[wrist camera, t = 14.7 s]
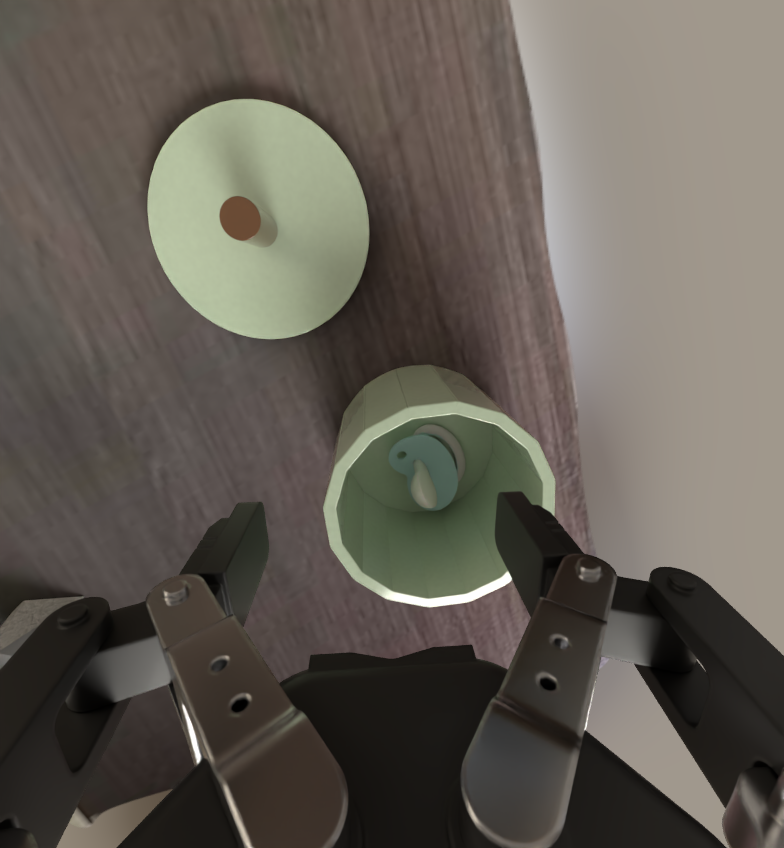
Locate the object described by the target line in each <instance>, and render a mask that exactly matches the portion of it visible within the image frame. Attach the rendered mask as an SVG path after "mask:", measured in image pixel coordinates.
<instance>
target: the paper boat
mask: <svg viewBox="0 0 784 848" xmlns="http://www.w3.org/2000/svg"><path fill="white" fill-rule="evenodd" d="M83 597H84V596H80V597H66V598H52V599H38V600H24V601H23V602H22V603H21V604H20V605H19V606H18V607H17V608H16V609H15V610H14V611H13V612H12V613H11V614H10V615H9V617H8V618H7V619H6V620H5V622H4V623H3V624H2V625H1V627H0V669H1V668H2V667H3V666H4V665H5V664H6V662H7V661H8V660H9V659H10V658H11V657H12V656H13V654H14V653H15V652H16V651H17V650H18V649H19V648H20V647H21V645H22V644H23V643H24V642H25V641H26V640H27V639H28V637H29V636H30V635H31V634H32V633H33V632H34V631H35V630H36V628H37V627H38V626H39V625H40V624H41V623H42V622H43V621H44V620H45V619H46V618H47V617H48V616H49V615H50V614H51V613H53V612H54V611H56V610H57V609H59V608H61V607H62V606H64V605H66V604H69V603H71V602H73V601H76V600H79V599H83Z"/></svg>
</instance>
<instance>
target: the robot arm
mask: <svg viewBox="0 0 784 848" xmlns="http://www.w3.org/2000/svg"><path fill="white" fill-rule="evenodd" d="M495 542H496V546H497V549H498V552H499V554H500V556H501V558H502V560H503V562H504V564H505V566H506V568H507V570H508V572H509V574H510V576H511V578H512V580H513V582H514V584H515V586H516V588H517V590H518V592H519V594H520V596H521V598H522V600H523V602H524V604H525V606H526V608H527V610H528V612H529V614H530V616H531V619H530V621H529V623H528V626H527V628H526V630H525V633H524V635H523V637H522V639H521V642H520V644H519V646H518V648H517V651H516V653H515V655H514V657H513V660H512V662H511V664H510V666H509V669H508V670H507V669H505V668H503V667H501V666H499V665H497V664H494V663H492V662H488V661H485V660H481V659H476V657H475V653H474V650H473V646H472V645H462V646H446V647H432V648H429V649H426V650H422V651H419V652H416V653H413V654H409V655H406V656H403V657H399V658H396V659H387V658H381V657H375V656H369V655H363V654H357V653H335V654H319V655H311V656H310V662H309V669H308V670H305V671H302V672H299V673H297V674H295V675H292V676H291V677H289V678H287V679H285V680H283V681H282V682H280V683H279V682H278V681H277V679H276V678H275V676H274V675H273V673H272V672H271V670H270V668H269V667H268V665H267V664H266V662H265V661H264V659H263V658H262V656H261V655H260V653H259V651H258V650H257V648H256V647H255V645H254V644H253V642H252V641H251V639H250V638H249V636H248V634H247V633H246V631H245V630H244V628H243V627H244V624H245V621H246V618H247V615H248V613H249V610H250V607H251V604H252V602H253V599H254V596H255V593H256V590H257V588H258V585H259V582H260V579H261V576H262V574H263V571H264V568H265V565H266V562H267V559H268V553H269V541H268V534H267V526H266V519H265V512H264V506H263V503H262V502H247V503H238V504H237V505H236V507H235V509H234V510H233V512H232V514H231V516H230V517H229V518H221V519H220V520H219V521H217V522H216V523H215V524H213V525H212V526H211V527H210V528H209V529H208V530H207V532H206V534H205V535H204V537H203V540H201V541H200V543H199V544H198V546H197V549H195V551H194V552H193V554H192V555H191V557H190V558H189V560H188V561H187V563H186V565H185V566H184V568H183V569H182V571H181V572H180V574H179V575H177V576H174V577H171V578H169V579H167V580H164V581H163V582H161V583H159V584H158V585H157V586H155V587H154V588H153V589H152V590H151V591H150V592H149V594H148V595H147V597H146V601H145V602H142V603H139V604H135V605H131V606H128V607H124V608H120V609H116V610H113V611H111V610H110V607H109V604H108V602H107V600H105V599H104V598H100V597H89V598H83V599H79V600H76V601H73V602H71V603H69V604H66V605H64V606H62V607H61V608H59V609H57V610H56V611H54V612H53V613H51V614H50V615H49V616H48V617H47V618H46V619H45V620H44V621H43V622H42V623H41V624H40V625H39V626H38V627H37V628H36V630H35V631H34V632H33V633H32V634H31V635H30V636H29V637H28V639H27V640H26V641H25V642H24V643H23V644H22V645H21V647H20V648H19V649H18V650H17V651H16V652H15V653H14V654H13V656H12V657H11V658H10V659H9V660H8V661H7V662H6V664H5V665H4V666H3V667H2V668H1V669H0V848H56V847H57V845H58V843H59V841H60V839H61V837H62V835H63V833H64V831H65V829H66V827H67V825H68V823H69V821H70V819H71V817H72V815H73V813H74V811H75V809H76V807H77V805H78V803H79V801H80V799H81V797H82V795H83V793H84V791H85V789H86V787H87V785H88V783H89V781H90V779H91V777H92V775H93V773H94V771H95V770H96V768H97V766H98V764H99V762H100V760H101V758H102V756H103V754H104V752H105V750H106V748H107V746H108V744H109V742H110V740H111V738H112V736H113V734H114V732H115V730H116V728H117V726H118V724H119V722H120V720H121V718H122V716H123V714H124V712H125V710H126V708H127V706H128V704H129V702H130V700H131V698H132V696H135V695H138V694H141V693H144V692H147V691H150V690H153V689H156V688H159V687H162V686H165V685H167V686H168V689H169V692H170V694H171V697H172V700H173V703H174V705H175V708H176V711H177V714H178V717H179V719H180V722H181V725H182V728H183V730H184V733H185V736H186V739H187V742H188V745H189V748H190V751H191V754H192V758H193V761H194V764H195V767H194V768H193V769H192V770H191V771H190V772H189V773H188V774H187V775H186V776H185V777H184V778H183V779H182V780H181V781H180V782H179V784H178V785H177V786H176V787H175V788H174V789H173V790H172V791H171V792H170V793H169V794H168V795H167V796H166V797H165V798H164V799H163V800H162V801H161V802H160V803H159V804H158V805H157V806H156V807H155V808H154V809H153V810H152V812H151V813H150V814H149V815H148V816H147V817H146V818H145V819H144V820H143V821H142V822H141V823H140V824H139V825H138V826H137V827H136V828H135V829H134V830H133V831H132V832H131V833H130V834H129V835H128V836H127V837H126V838H125V840H124V841H123V842H122V843H121V844H120V845H119V846H118V847H117V848H726V847H725V846H724V845H723V844H722V843H721V842H720V841H719V840H718V839H717V838H716V837H715V836H714V835H713V834H712V833H711V832H710V831H708V830H707V829H706V828H705V827H704V826H703V825H702V824H700V823H699V822H698V821H697V820H695V819H694V818H693V817H692V816H691V815H689V814H688V813H687V812H686V811H684V810H683V809H682V808H681V807H679V806H678V805H677V804H675V803H674V802H673V801H672V800H671V799H670V798H668V797H667V796H666V795H665V794H663V793H662V792H661V791H660V790H658V789H657V788H656V787H655V786H653V785H652V784H651V783H650V782H649V781H647V780H646V779H645V778H644V777H642V776H641V775H640V774H639V773H637V772H636V771H635V770H634V769H632V768H631V767H630V766H629V765H628V764H626V763H625V762H624V761H623V760H621V759H620V758H619V757H618V756H617V755H615V754H614V753H613V752H612V751H610V750H609V749H608V748H607V747H605V746H604V745H603V744H601V743H600V742H599V741H598V740H597V739H596V738H594V737H593V736H592V735H590V734H589V733H588V732H587V731H586V727H587V722H588V717H589V712H590V708H591V703H592V698H593V693H594V689H595V684H596V679H597V674H598V670H599V665H600V660H601V657H606V658H611V659H616V660H620V661H625V662H629V663H634V665H635V666H636V668H637V670H638V671H639V673H640V674H641V676H642V678H643V679H644V681H645V682H646V684H647V685H648V687H649V689H650V690H651V692H652V693H653V695H654V696H655V698H656V700H657V701H658V703H659V704H660V706H661V707H662V709H663V711H664V712H665V714H666V715H667V717H668V719H669V720H670V722H671V723H672V725H673V726H674V728H675V730H676V731H677V733H678V734H679V736H680V737H681V739H682V740H683V742H684V744H685V745H686V747H687V749H688V750H689V752H690V753H691V755H692V756H693V758H694V759H695V761H696V763H697V764H698V766H699V767H700V769H701V770H702V772H703V774H704V775H705V777H706V778H707V780H708V782H709V783H710V785H711V786H712V788H713V790H714V791H715V793H716V794H717V796H718V797H719V799H720V801H721V802H722V804H723V805H724V807H725V808H726V810H725V813H724V815H723V819H722V826H723V832H724V835H725V838H726V841H727V843H728V845H729V847H730V848H784V656H783V655H782V654H781V653H780V652H779V651H778V650H777V649H776V648H775V647H774V646H773V645H772V644H771V643H770V642H769V641H767V639H766V638H764V637H763V636H762V635H761V634H760V633H759V632H758V631H757V630H756V629H755V628H754V627H753V626H752V625H751V624H750V623H749V622H748V621H747V620H745V619H744V618H743V617H742V616H741V615H740V614H739V613H738V612H737V611H736V610H735V609H734V608H733V607H732V606H731V605H730V604H729V603H728V602H727V601H726V600H725V599H723V598H722V597H721V596H720V595H719V594H718V593H717V592H716V591H715V590H714V589H713V588H712V587H711V586H710V585H709V584H708V583H706V582H705V581H704V580H702V579H701V578H699V577H698V576H696V575H694V574H692V573H690V572H687V571H684V570H681V569H677V568H672V567H659V568H656V569H654V570H653V571H652V572H651V574H650V578H649V582H648V581H642V580H636V579H629V578H623V577H619V576H617V575H616V572H615V570H614V569H613V568H612V567H611V566H610V565H609V564H608V563H606V562H605V561H603V560H601V559H599V558H597V557H594V556H591V555H587V554H584V553H583V552H582V551H581V549H580V548H579V547H578V546H577V544H576V543H575V542H574V541H573V539H572V538H571V537H570V536H569V534H568V533H567V532H566V531H564V528H563V527H562V526H561V525H560V524H558V521H557V520H556V518H555V517H554V516H553V515H552V513H551V512H549V511H548V510H546V509H544V508H543V507H541V506H540V505H532V504H531V503H530V501H529V500H528V499H527V497H526V496H525V495H524V493H523V492H522V491H510V492H499V493H498V497H497V507H496V520H495ZM696 659H698V660H699V661H700V663H701V664H702V665H703V667H704V669H705V670H706V671H705V670H704V669H703V668H702V667H701V665H700V664H699V663H698V662H697V660H696ZM706 672H707V673H706Z"/></svg>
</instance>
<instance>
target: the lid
mask: <svg viewBox="0 0 784 848" xmlns="http://www.w3.org/2000/svg"><path fill="white" fill-rule="evenodd" d="M147 211H148V222H149V229H150V233H151V238H152V242H153V245H154V248H155V251H156V254H157V257H158V259H159V261H160V263H161V265H162V267H163V269H164V271H165V273H166V275H167V276H168V278H169V280H170V281H171V283H172V284H173V286H174V287H175V288H176V290H177V291H178V292H179V293H180V295H181V296H182V297H183V298H184V299H185V300H186V301H187V302H188V303H189V304H190V305H191V306H192V307H193V308H194V309H195V310H196V311H198V312H199V313H200V314H201V315H203V316H204V317H205V318H207V319H208V320H210V321H212V322H213V323H215V324H216V325H218V326H220V327H222V328H224V329H227V330H229V331H231V332H234V333H237V334H240V335H243V336H248V337H253V338H260V339H283V338H288V337H294V336H297V335H300V334H303V333H306V332H309V331H311V330H313V329H315V328H317V327H319V326H321V325H322V324H323V323H325V322H326V321H328V320H329V319H331V318H332V317H333V316H334V315H335V314H336V313H337V312H338V311H340V309H341V308H342V307H343V306H344V305H345V304H346V302H347V301H348V300H349V298H350V297H351V295H352V294H353V292H354V291H355V289H356V287H357V285H358V283H359V281H360V279H361V276H362V273H363V270H364V267H365V264H366V260H367V254H368V249H369V234H370V232H369V216H368V210H367V205H366V200H365V197H364V193H363V190H362V187H361V184H360V182H359V180H358V177H357V175H356V173H355V171H354V169H353V167H352V165H351V164H350V162H349V160H348V158H347V157H346V155H345V154H344V153H343V151H342V150H341V149H340V147H339V146H338V145H337V143H336V142H335V141H334V140H333V139H332V138H331V137H330V136H329V135H328V134H327V133H326V132H325V131H324V130H323V129H322V128H320V127H319V126H318V125H317V124H315V123H314V122H313V121H312V120H310V119H308V118H307V117H305V116H304V115H302V114H300V113H299V112H297V111H295V110H292V109H290V108H288V107H286V106H283V105H280V104H277V103H273V102H270V101H264V100H257V99H234V100H229V101H223V102H219V103H216V104H214V105H211V106H208V107H206V108H204V109H202V110H200V111H198V112H197V113H195V114H193V115H192V116H190V117H189V118H188V119H187V120H185V121H184V122H183V123H182V124H180V125H179V127H178V128H177V129H176V130H175V131H174V132H173V133H172V134H171V135H170V137H169V138H168V140H167V141H166V143H165V144H164V146H163V147H162V149H161V151H160V153H159V155H158V157H157V159H156V162H155V164H154V168H153V171H152V174H151V177H150V183H149V189H148V204H147Z"/></svg>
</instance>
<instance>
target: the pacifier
mask: <svg viewBox="0 0 784 848" xmlns="http://www.w3.org/2000/svg"><path fill="white" fill-rule="evenodd" d="M428 435H434V436H437V437H440V438H441V439H443V440H444V441H445V442H446V443H447V444H448V445H449V446H450V447H451V449H452V451H453V453H454V456H455V463H454V461H453V459H452V457H451V455H450V453H449V452H448V450H447V449H446V448H445V446H443V445H442V444H441V443H440V442H439V441H438V440H436V439H435V438H433V437H430V436H428ZM402 451H404V452H406V455H405V457H403V458H398V457H397V454H398V453H399V452H402ZM389 463H390V465H391V466H392V467H393V469H395V470H396V471H397V472H399V473H401V474H405V475H406V476H407V486H408V491H409V494H410V496H411V498H412V499H413V500H414V502H415V503H416V504H417V505H418V506H420V507H422V508H423V509H426V510H430V511H437V510H440V509H442V508H444V507H446V506H447V505H448V504H449V503H450V502H451V501H452V499H453V497H454V496H455V494H456V491H457V486H458V482H459V481H460V480H461V478H462V477H463V475H464V472H465V456H464V452H463V450H462V448H461V445H460V444H459V442H458V441H457V439H456V438H455V437H454V436H453V435H452V434H451V433H450V432H449V431H448V430H446V429H444V428H443V427H441V426H437V425H434V424H427V425H424V426H421V427H420V428H418V429H417V430H416V431H415V433H414V434H413V436H409V437H406V438H404V439H402V440H400V441H398V442H397V443H396V444H395V445H394V446H393V447H392V448H391V450H390V452H389Z"/></svg>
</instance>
